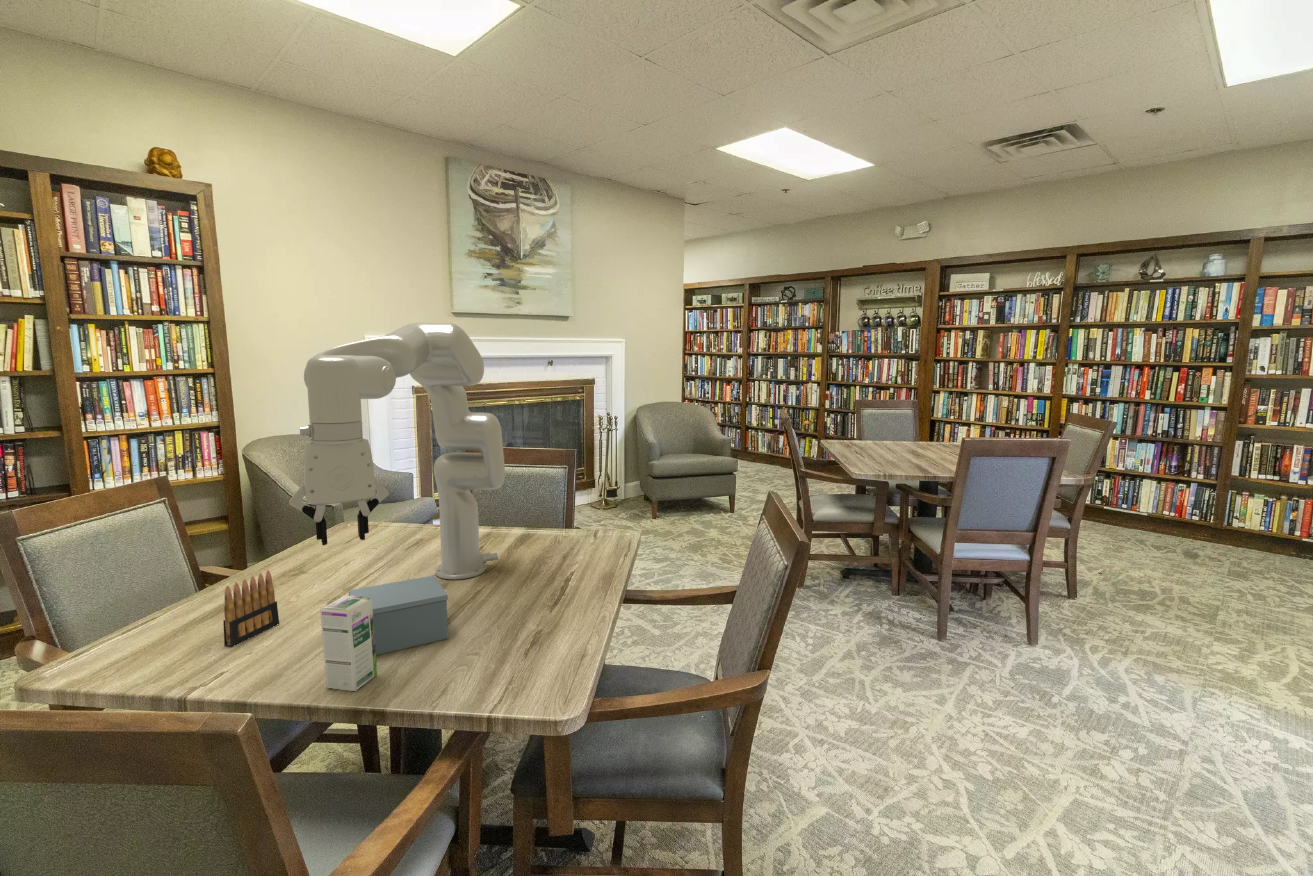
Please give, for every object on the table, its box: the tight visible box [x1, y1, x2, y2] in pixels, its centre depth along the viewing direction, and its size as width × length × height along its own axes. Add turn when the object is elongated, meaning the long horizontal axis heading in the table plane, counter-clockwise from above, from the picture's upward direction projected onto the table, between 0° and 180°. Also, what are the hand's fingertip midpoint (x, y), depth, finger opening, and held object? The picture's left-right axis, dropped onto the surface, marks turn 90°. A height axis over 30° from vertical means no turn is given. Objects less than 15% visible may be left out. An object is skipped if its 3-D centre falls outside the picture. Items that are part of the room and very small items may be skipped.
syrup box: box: [319, 595, 378, 692], centre depth 102 cm, size 6×6×14 cm
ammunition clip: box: [223, 569, 280, 648], centre depth 119 cm, size 11×2×12 cm, turn 165°
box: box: [373, 600, 449, 656], centre depth 119 cm, size 16×12×8 cm
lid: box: [348, 575, 449, 614], centre depth 118 cm, size 16×12×1 cm
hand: (343, 539), depth 99 cm, fingers open, 4 cm apart
